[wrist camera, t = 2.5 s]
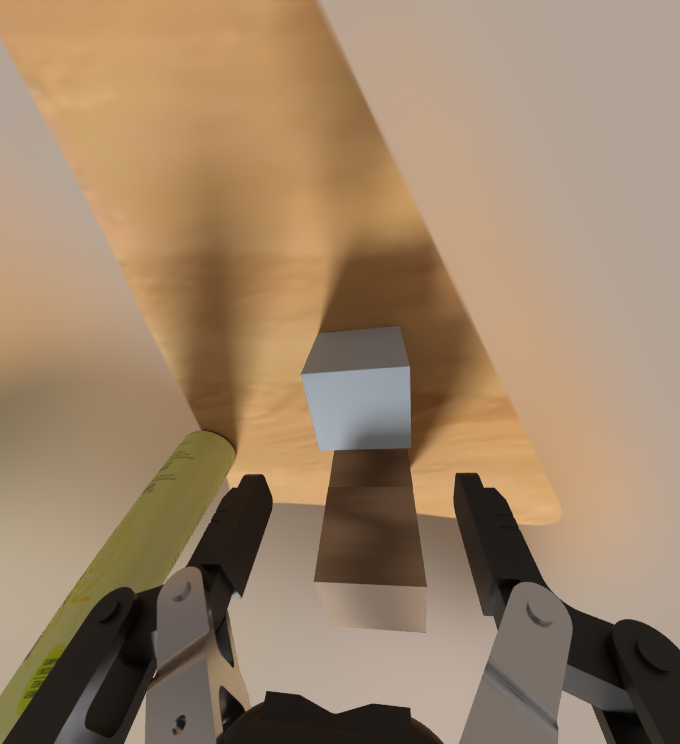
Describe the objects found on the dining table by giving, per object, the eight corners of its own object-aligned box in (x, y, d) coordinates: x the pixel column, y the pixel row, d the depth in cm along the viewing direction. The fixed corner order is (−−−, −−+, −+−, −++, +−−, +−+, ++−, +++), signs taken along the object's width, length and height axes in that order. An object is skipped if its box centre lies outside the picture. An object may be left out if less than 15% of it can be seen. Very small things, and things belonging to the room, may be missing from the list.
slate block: (330, 397, 22) (319, 450, 17) (318, 332, 19) (300, 374, 14) (402, 393, 21) (411, 448, 16) (400, 324, 18) (409, 366, 13)
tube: (181, 418, 24) (-235, 880, 8) (238, 430, 24) (-50, 914, 8) (187, 461, 27) (-106, 863, 11) (237, 472, 27) (27, 888, 11)
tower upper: (339, 533, 21) (331, 626, 17) (328, 487, 19) (313, 581, 14) (413, 535, 21) (425, 632, 16) (412, 486, 18) (426, 587, 13)
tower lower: (345, 474, 26) (340, 533, 21) (337, 430, 23) (328, 487, 19) (405, 473, 25) (413, 535, 20) (404, 428, 22) (412, 486, 18)
